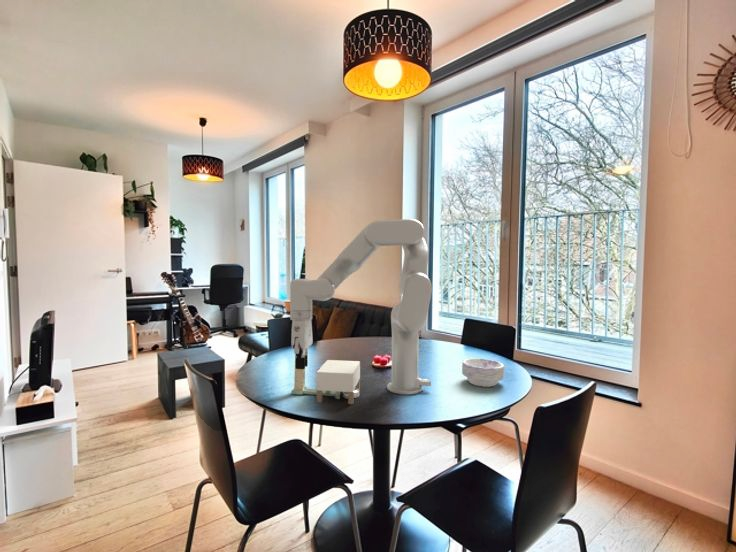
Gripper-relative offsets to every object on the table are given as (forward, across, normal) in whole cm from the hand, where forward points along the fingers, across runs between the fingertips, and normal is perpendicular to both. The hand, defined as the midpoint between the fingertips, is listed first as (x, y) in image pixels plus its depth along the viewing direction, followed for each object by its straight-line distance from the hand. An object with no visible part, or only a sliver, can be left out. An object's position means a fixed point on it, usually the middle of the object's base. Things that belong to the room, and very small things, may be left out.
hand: (301, 367), depth 134 cm
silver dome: (+9, 0, -17) cm, 20 cm away
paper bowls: (+10, +21, -64) cm, 68 cm away
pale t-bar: (+9, 0, -6) cm, 11 cm away
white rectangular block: (+9, 0, -13) cm, 16 cm away
